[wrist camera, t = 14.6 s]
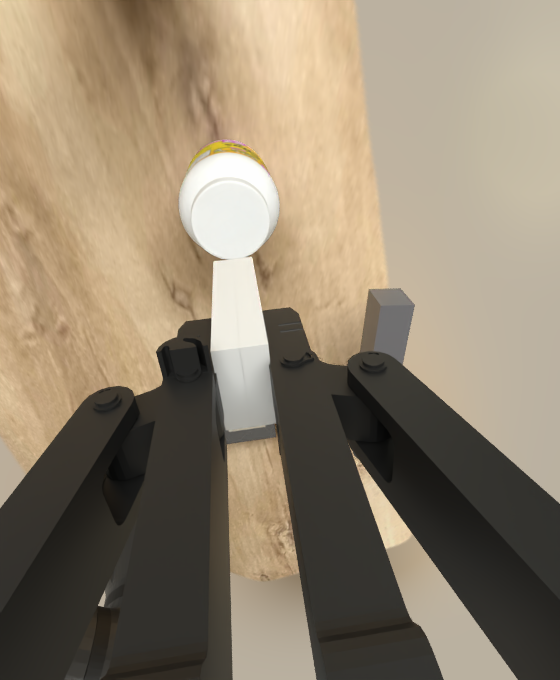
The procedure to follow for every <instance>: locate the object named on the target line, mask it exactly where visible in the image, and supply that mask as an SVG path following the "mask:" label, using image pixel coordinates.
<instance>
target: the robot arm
mask: <svg viewBox="0 0 560 680" xmlns="http://www.w3.org/2000/svg"><path fill="white" fill-rule="evenodd" d="M156 353H157V357H158V361H159V365H160V368H161V372H162V376H163V381H162V385H161V386H159V387H158V388H156V389H154V390H151V391H149V392H146V393H143V394H140V395H137V396H134V394H133V391H132V390H130V389H129V388H127V387H121V386H115V387H108V388H105V389H101V390H99V391H97V392H95V393H93V394H92V395H90V396H89V397H88V398H87V399H86V400H84V401H83V402H82V404H81V405H80V406H79V408H78V409H77V410H76V411H75V413H74V414H73V415H72V417H71V418H70V419H69V421H68V422H67V423H66V424H65V426H64V427H63V428H62V430H61V431H60V432H59V433H58V435H57V436H56V437H55V439H54V440H53V441H52V442H51V444H50V445H49V446H48V448H47V449H46V450H45V451H44V453H43V454H42V455H41V457H40V458H39V459H38V460H37V462H36V463H35V464H34V466H33V467H32V468H31V470H30V471H29V472H28V473H27V475H26V476H25V477H24V479H23V480H22V481H21V483H20V484H19V485H18V486H17V488H16V489H15V490H14V491H13V493H12V494H11V495H10V497H9V498H8V499H7V501H6V502H5V503H4V504H3V506H2V507H1V508H0V680H232V638H231V597H230V555H229V513H228V472H227V442H226V437H225V432H224V424H225V430H226V431H227V430H234V429H241V428H248V427H255V426H262V425H269V424H276V425H277V434H278V443H279V452H280V455H281V460H282V466H283V472H284V479H285V485H286V491H287V497H288V504H289V510H290V516H291V522H292V529H293V535H294V541H295V547H296V554H297V560H298V566H299V572H300V578H301V585H302V591H303V597H304V603H305V609H306V616H307V622H308V628H309V635H310V641H311V647H312V653H313V660H314V666H315V672H316V679H317V680H444V679H443V677H442V674H441V671H440V669H439V666H438V663H437V661H436V658H435V655H434V653H433V651H432V648H431V646H430V643H429V641H428V639H427V636H426V635H425V633H424V632H423V630H422V629H421V627H420V626H419V625H417V624H416V623H414V622H413V621H412V620H411V618H410V616H409V614H408V612H407V609H406V607H405V604H404V601H403V598H402V595H401V592H400V589H399V587H398V584H397V581H396V578H395V575H394V572H393V569H392V567H391V564H390V561H389V558H388V555H387V552H386V550H385V547H384V544H383V541H382V538H381V535H380V532H379V530H378V527H377V524H376V521H375V518H374V515H373V513H372V510H371V507H370V504H369V501H368V498H367V495H366V493H365V490H364V487H363V484H362V481H361V478H360V476H359V473H358V470H357V467H356V464H355V461H354V458H353V456H352V453H351V450H350V448H351V449H352V450H353V452H354V453H355V455H356V456H357V457H358V459H359V460H360V462H361V463H362V464H363V466H364V467H365V468H366V470H367V471H368V473H369V474H370V475H371V477H372V478H373V480H374V481H375V482H376V484H377V485H378V486H379V488H380V489H381V491H382V492H383V493H384V495H385V496H386V498H387V499H388V500H389V502H390V503H391V504H392V506H393V507H394V509H395V510H396V511H397V513H398V514H399V516H400V517H401V518H402V520H403V521H404V522H405V524H406V525H407V527H408V528H409V529H410V531H411V532H412V534H413V535H414V536H415V538H416V539H417V540H418V542H419V543H420V544H421V546H422V547H423V549H424V550H425V552H426V553H427V554H428V556H429V557H430V558H431V560H432V561H433V563H434V564H435V565H436V567H437V568H438V569H439V571H440V572H441V574H442V575H443V576H444V578H445V579H446V581H447V582H448V583H449V585H450V586H451V587H452V589H453V590H454V592H455V593H456V594H457V596H458V597H459V599H460V600H461V601H462V603H463V604H464V606H465V607H466V608H467V610H468V611H469V612H470V614H471V615H472V617H473V618H474V619H475V621H476V622H477V623H478V625H479V626H480V628H481V629H482V630H483V632H484V633H485V635H486V636H487V637H488V639H489V640H490V642H491V643H492V644H493V646H494V647H495V648H496V650H497V651H498V653H499V654H500V655H501V657H502V658H503V660H504V661H505V662H506V664H507V665H508V666H509V668H510V669H511V671H512V672H513V673H514V675H515V676H516V678H517V679H518V680H560V504H559V503H558V502H557V501H556V500H555V499H554V498H553V497H551V496H550V495H549V494H548V493H547V492H546V491H545V490H543V489H542V488H541V487H540V486H539V485H538V484H537V483H536V482H534V481H533V480H532V479H531V478H530V477H529V476H528V475H526V474H525V473H524V472H523V471H522V470H521V469H520V468H519V467H517V466H516V465H515V464H514V463H513V462H512V461H511V460H509V459H508V458H507V457H506V456H505V455H504V454H503V453H502V452H500V451H499V450H498V449H497V448H496V447H495V446H494V445H493V444H491V443H490V442H489V441H488V440H487V439H486V438H484V437H483V436H482V435H481V434H480V433H479V432H478V431H477V430H476V429H474V428H473V427H472V426H471V425H470V424H469V423H468V422H466V421H465V420H464V419H463V418H462V417H461V416H460V415H459V414H457V413H456V412H455V411H454V410H453V409H452V408H450V406H448V405H447V404H446V403H445V402H444V401H443V400H442V399H440V398H439V397H438V396H437V395H436V394H435V393H434V392H433V391H431V390H430V389H429V388H428V387H427V386H426V385H425V384H423V383H422V382H421V381H420V380H419V379H418V378H417V377H415V376H414V375H413V374H412V373H411V372H410V371H409V370H408V369H406V368H405V367H404V366H403V365H402V364H401V363H400V362H399V361H397V360H396V359H395V358H394V357H392V356H390V355H389V354H386V353H382V352H377V351H367V352H361V353H358V354H356V355H354V356H352V357H351V358H350V359H349V360H348V365H347V366H340V365H331V364H327V363H324V362H321V361H319V359H318V357H317V355H316V354H315V353H314V352H313V351H311V349H310V346H309V343H308V340H307V338H306V335H305V332H304V330H303V326H302V323H301V320H300V317H299V314H298V313H297V312H296V311H294V310H293V309H292V308H290V307H289V308H281V309H273V310H265V311H262V308H261V302H260V297H259V291H258V286H257V281H256V275H255V270H254V265H253V259H252V257H246V258H238V259H229V260H221V261H213V291H212V318H210V319H202V320H194V321H186V322H185V323H184V324H183V325H182V326H181V327H180V329H179V330H178V335H177V337H176V338H173V339H171V340H168V341H166V342H165V343H163V344H162V345H161V346H159V348H158V350H157V351H156ZM349 446H350V447H349ZM104 591H105V593H106V599H105V604H104V607H100V606H98V604H99V602H100V599H101V597H102V595H103V593H104Z"/></svg>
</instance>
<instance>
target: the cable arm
mask: <svg viewBox="0 0 560 680" xmlns="http://www.w3.org/2000/svg"><path fill="white" fill-rule="evenodd" d="M414 306H415V305H414V303H413V302H412V301H411V300H410V299H409V298H408V297H407V295H406V294H405V293H404V292H403V291H402V290H401V289H369V292H368V299H367V306H366V313H365V321H364V328H363V335H362V342H361V349H360V353H361V352H367V351H377V352H382V353H386V354H389V355H390V356H392V357H394V358H395V359H396V360H397V361H399V362H400V363H401V364H402V365H403V360H404V355H405V350H406V345H407V340H408V335H409V330H410V325H411V320H412V316H413V310H414ZM352 451H353V450H352ZM353 454H354V455H355V453H354V452H353ZM355 457H356V458H358V457H357V456H356V455H355Z"/></svg>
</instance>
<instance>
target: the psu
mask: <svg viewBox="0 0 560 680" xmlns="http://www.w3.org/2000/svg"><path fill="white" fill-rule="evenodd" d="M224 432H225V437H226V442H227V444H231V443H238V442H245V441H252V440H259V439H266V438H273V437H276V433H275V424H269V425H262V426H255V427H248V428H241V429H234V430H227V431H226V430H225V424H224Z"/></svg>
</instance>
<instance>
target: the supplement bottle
mask: <svg viewBox="0 0 560 680" xmlns="http://www.w3.org/2000/svg"><path fill="white" fill-rule="evenodd" d="M279 211H280V202H279V196H278V192H277V189H276V186H275V184H274V182H273V180H272V178H271V176H270V174H269V172H268V170H267V168H266V166H265V164H264V163H263V161H262V159H261V158H260V157H259V155H258V154H257V153H256V152H255V151H254V150H253V149H252V148H250V147H249V146H247V145H245V144H243V143H241V142H239V141H235V140H218V141H214V142H211V143H209V144H207V145H206V146H204V147H203V148H202V149H201V150H200V151H199V152H198V153H197V154H196V155H195V156H194V158H193V159H192V161H191V163H190V165H189V168H188V170H187V173H186V175H185V178H184V180H183V183H182V186H181V189H180V193H179V213H180V217H181V221H182V224H183V226H184V228H185V230H186V231H187V233H188V235H189V236H190V237H191V238H192V239H193V241H194V242H195V243H197V244H198V245H199V246H200V247H202V248H203V249H204V250H205V251H207V252H208V253H210V254H211V255H213V256H215V257H218V258H221V259H226V260H229V259H238V258H245V257H248V256H250V255H251V254H253V253H254V252H256V251H257V250H258V249H259V248H260V247H261V246H262V245H263V244H264V243H265V242H266V241H267V240H268V239H269V237H270V236H271V235H272V233H273V231H274V229H275V227H276V225H277V221H278V218H279Z"/></svg>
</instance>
